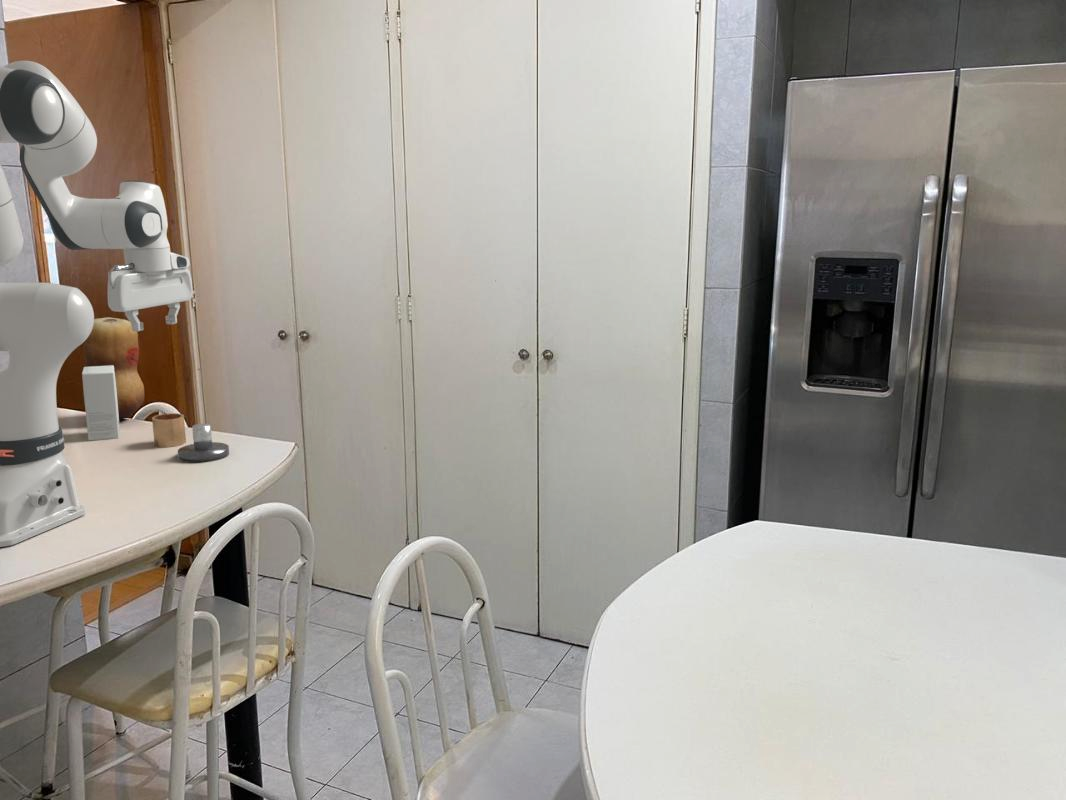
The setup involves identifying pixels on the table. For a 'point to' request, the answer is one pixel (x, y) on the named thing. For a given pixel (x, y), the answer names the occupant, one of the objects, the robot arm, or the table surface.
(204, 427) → the duct stub
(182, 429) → the sleeve
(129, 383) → the butternut squash
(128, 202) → the robot arm
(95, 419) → the skincare box
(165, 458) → the table surface
